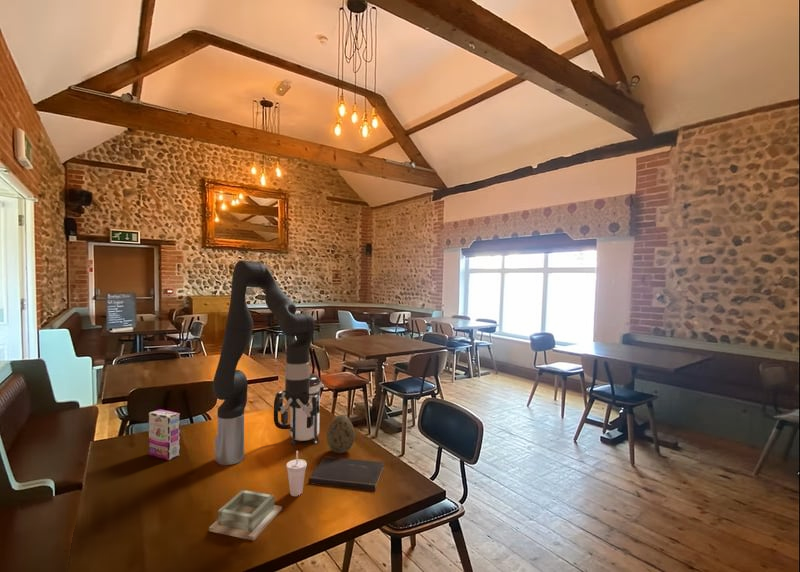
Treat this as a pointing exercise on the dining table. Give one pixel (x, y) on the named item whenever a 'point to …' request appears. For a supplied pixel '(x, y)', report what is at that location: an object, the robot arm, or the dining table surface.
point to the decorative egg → (340, 434)
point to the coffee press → (302, 417)
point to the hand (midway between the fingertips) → (297, 425)
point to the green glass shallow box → (246, 515)
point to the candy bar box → (164, 434)
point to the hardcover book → (347, 473)
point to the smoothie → (296, 475)
